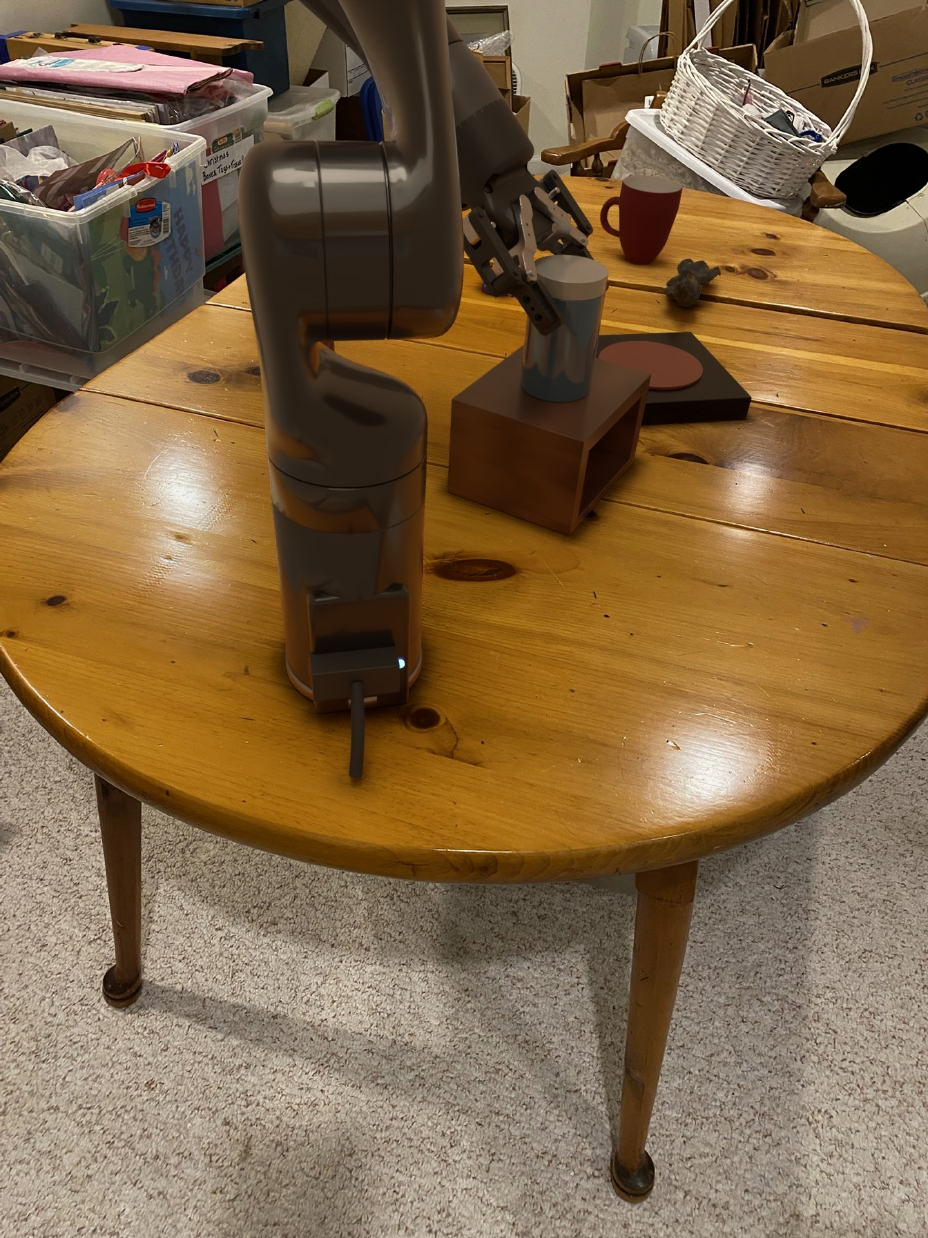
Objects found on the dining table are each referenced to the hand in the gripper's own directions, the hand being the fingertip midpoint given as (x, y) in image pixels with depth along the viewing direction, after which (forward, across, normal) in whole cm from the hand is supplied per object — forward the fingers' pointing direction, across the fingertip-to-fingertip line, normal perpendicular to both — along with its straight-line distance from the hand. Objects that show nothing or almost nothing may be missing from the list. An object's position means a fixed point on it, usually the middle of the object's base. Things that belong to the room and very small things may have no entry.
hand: (578, 311), depth 74 cm
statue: (+8, +48, +14) cm, 51 cm away
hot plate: (+11, +23, +11) cm, 28 cm away
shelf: (+10, 0, +12) cm, 16 cm away
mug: (0, +59, +23) cm, 63 cm away
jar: (+4, 0, +6) cm, 7 cm away
